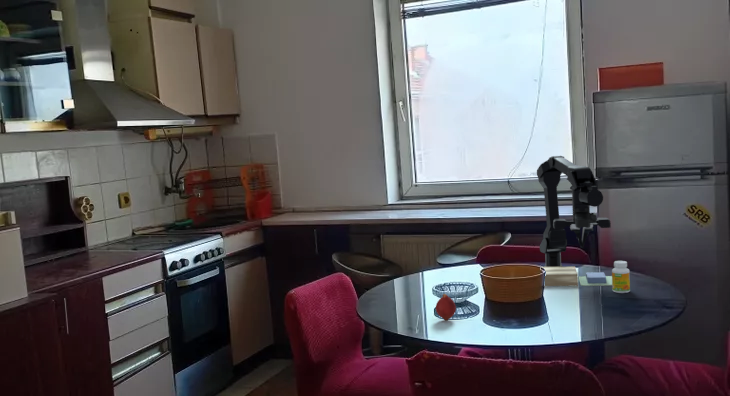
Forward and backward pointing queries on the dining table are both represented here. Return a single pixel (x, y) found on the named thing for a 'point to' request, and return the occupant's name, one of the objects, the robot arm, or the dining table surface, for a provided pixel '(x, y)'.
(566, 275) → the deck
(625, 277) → the supplement bottle
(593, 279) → the periwinkle blue block
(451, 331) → the dining table surface
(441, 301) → the onion
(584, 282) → the mat
